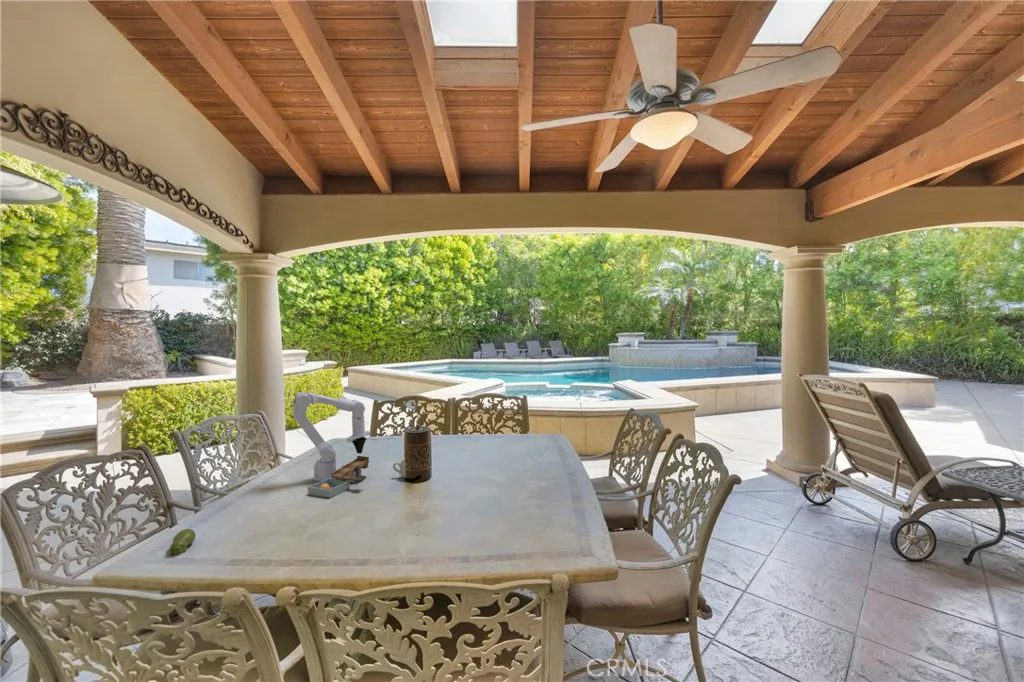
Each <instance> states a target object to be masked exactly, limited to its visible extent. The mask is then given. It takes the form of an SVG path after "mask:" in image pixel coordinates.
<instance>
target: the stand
mask: <svg viewBox="0 0 1024 682" xmlns="http://www.w3.org/2000/svg"><path fill="white" fill-rule="evenodd" d="M345 465H346V464H344V465H341V466H340V468H341V467H343V466H345ZM358 475H362V468H361V467H358V468H356V471H355V477H357V476H358ZM341 480H345V481H350V484H352V483H353V485H358V483H359V484H360V482H356V481H353V480H347V479H341ZM361 483H362V481H361Z"/></svg>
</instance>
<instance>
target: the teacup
mask: <svg viewBox="0 0 1024 682" xmlns="http://www.w3.org/2000/svg"><path fill="white" fill-rule="evenodd" d="M396 465H398V466H399V469H397V467H396ZM392 468H393V470H394V471H395V472H397V473H398V474H399V475H400V476H401V477H402V478H404V479H405V475H406V474H405V465H404V459H401V460H400V461H395V462H394V463H393V464H392Z"/></svg>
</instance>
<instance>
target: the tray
mask: <svg viewBox="0 0 1024 682" xmlns="http://www.w3.org/2000/svg"><path fill="white" fill-rule="evenodd" d="M322 484H328V485H329V487H330V489H323V488H320V486H321V485H322ZM350 484H351V483H350V481H345V480H342V479H338V478H337V479H331V478H328V479H325V480H323V481H317V482H316V483H314V484H311V485H309V486H308V487H307V495H308V496H311V495H312V496H313V497H317V496H319V498H323V497H324V499H329V498H330V499H332V498H334V497H336V496H338V495H340V494H342V493H344V492H346V491H348V489H349V490H350V487H351V485H350Z"/></svg>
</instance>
